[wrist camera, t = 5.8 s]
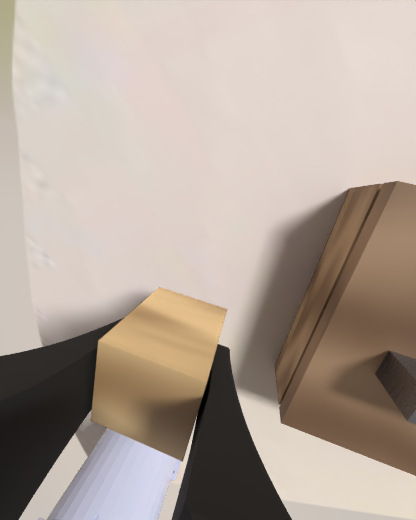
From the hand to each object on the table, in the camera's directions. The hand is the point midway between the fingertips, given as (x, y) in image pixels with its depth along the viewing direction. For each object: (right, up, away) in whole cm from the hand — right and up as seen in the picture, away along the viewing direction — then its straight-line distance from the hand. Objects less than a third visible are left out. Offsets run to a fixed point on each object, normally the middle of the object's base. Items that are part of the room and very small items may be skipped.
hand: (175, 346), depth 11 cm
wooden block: (0, 0, +1) cm, 2 cm away
